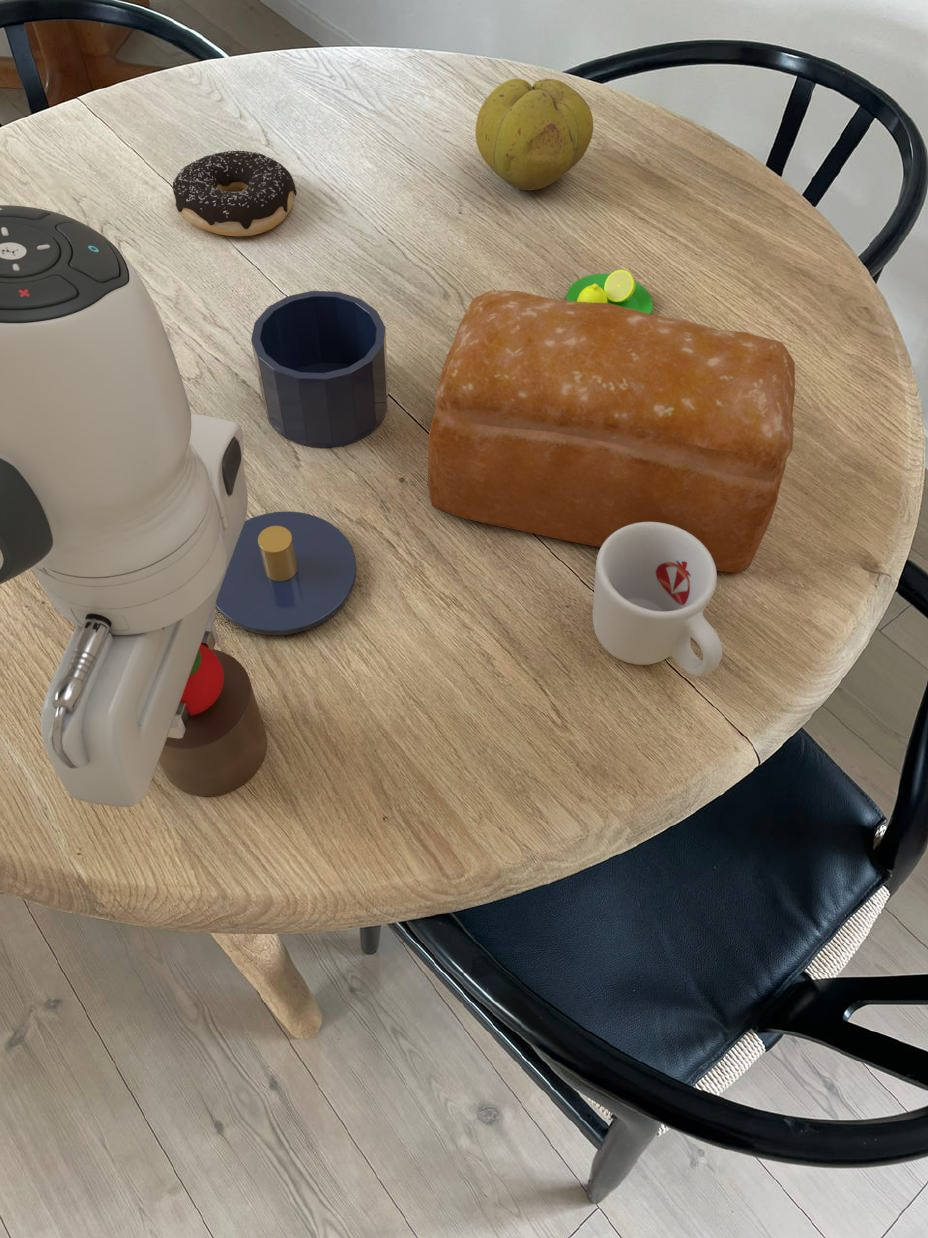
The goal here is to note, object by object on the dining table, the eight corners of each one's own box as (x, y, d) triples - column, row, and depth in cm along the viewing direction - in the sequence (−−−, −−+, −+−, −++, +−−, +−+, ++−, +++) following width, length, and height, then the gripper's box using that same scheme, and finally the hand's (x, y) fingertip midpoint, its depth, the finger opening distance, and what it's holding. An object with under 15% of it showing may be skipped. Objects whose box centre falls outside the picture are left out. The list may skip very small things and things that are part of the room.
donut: (279, 249, 94) (273, 212, 91) (161, 234, 95) (151, 197, 92) (307, 184, 101) (302, 147, 97) (196, 171, 101) (188, 134, 98)
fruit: (577, 219, 99) (590, 123, 90) (463, 203, 100) (466, 105, 91) (591, 159, 105) (605, 63, 96) (483, 144, 106) (488, 48, 97)
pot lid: (228, 658, 69) (216, 621, 65) (193, 543, 74) (180, 502, 70) (376, 614, 71) (373, 576, 67) (332, 505, 77) (326, 464, 73)
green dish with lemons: (604, 268, 94) (608, 242, 92) (668, 307, 91) (674, 282, 89) (548, 304, 91) (551, 278, 89) (613, 346, 88) (618, 321, 86)
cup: (740, 674, 69) (773, 610, 62) (655, 729, 66) (680, 669, 60) (642, 571, 74) (663, 502, 67) (559, 619, 71) (572, 552, 65)
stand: (172, 811, 62) (146, 764, 56) (150, 720, 66) (123, 667, 60) (279, 776, 64) (264, 726, 58) (252, 689, 67) (235, 633, 61)
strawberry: (164, 738, 57) (145, 700, 53) (149, 678, 59) (129, 637, 56) (237, 715, 58) (224, 676, 54) (220, 656, 60) (206, 615, 57)
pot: (284, 461, 79) (271, 391, 73) (251, 377, 84) (237, 306, 78) (405, 429, 81) (403, 360, 75) (366, 350, 87) (361, 279, 81)
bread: (458, 399, 84) (463, 239, 71) (764, 458, 81) (828, 303, 68) (416, 519, 76) (413, 365, 63) (751, 589, 73) (821, 442, 60)
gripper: (117, 744, 40) (186, 860, 52) (250, 401, 52) (282, 559, 63) (-29, 721, 41) (71, 842, 52) (135, 386, 52) (188, 546, 64)
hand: (188, 685), depth 58 cm, fingers closed on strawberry, 4 cm apart
